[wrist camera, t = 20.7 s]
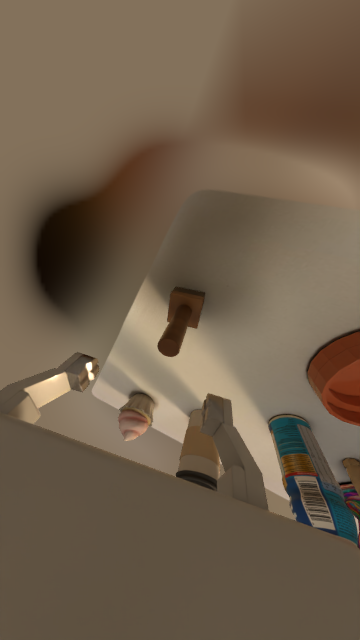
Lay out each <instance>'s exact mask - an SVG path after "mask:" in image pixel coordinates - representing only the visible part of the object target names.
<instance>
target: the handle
mask: <svg viewBox="0 0 360 640" xmlns="http://www.w3.org/2000/svg"><path fill="white" fill-rule="evenodd" d="M343 465H344V467H345V468H347V473H348V475H349V477H350V479H351V481H352V483H353V485H354V487H355V489H356V491H357V493H358V495H359V497H360V462H358V461H356V460H355V459H348V458H347V459H346V460H344V461H343Z"/></svg>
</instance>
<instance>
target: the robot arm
mask: <svg viewBox="0 0 360 640" xmlns="http://www.w3.org/2000/svg"><path fill="white" fill-rule="evenodd" d="M97 363H98V359H97V358H93V357H91V356H88V355H85V354H82V353H78V352H77V353H75V354H74V355H72V356H71V357H70V358H69V359H68V360H66V361H65V362H64V363H63V364H62V365H60V366H59V367H58V368H57V369H56V368H54V369H51V370H48V371H45V372H43V373H40V374H37V375H34V376H32V377H29V378H26V379H23V380H21V381H18V382H15V383H12V384H10V385H8V386H6V387H5V388H3V389H2V390H1V391H0V640H360V549H359V548H358V547H357V546H356V545H354V544H353V543H352V542H350V541H348V540H346V539H344V538H341V537H338V536H336V535H333V534H330V533H328V532H325V531H322V530H319V529H317V528H314V527H311V526H308V525H306V524H303V523H300V522H298V521H295V520H292V519H289V518H287V517H284V516H281V515H279V514H276V513H273V512H270V511H269V510H268V504H267V499H266V493H265V488H264V482H263V477H262V473H261V471H260V469H259V468H258V466H257V464H256V462H255V461H254V459H253V457H252V455H251V454H250V452H249V450H248V448H247V447H246V445H245V443H244V441H243V440H242V438H241V436H240V434H239V433H238V431H237V429H236V427H233V419H232V406H231V401H230V400H229V399H225V398H222V397H220V396H216V395H213V394H209V393H208V394H207V396H206V400H204V402H203V406H202V413H201V414H202V419H201V424H200V432H201V433H204V434H207V435H209V436H212V438H213V440H214V443H215V446H216V449H217V451H218V454H219V457H220V459H221V462H222V465H223V467H224V470H225V473H224V474H223V475H222V476H221V477H220V478H219V479H218V480H217V492H216V491H213V490H211V489H208V488H205V487H202V486H200V485H197V484H194V483H192V482H189V481H186V480H183V479H181V478H178V477H175V476H173V475H170V474H167V473H164V472H161V471H159V470H156V469H153V468H151V467H148V466H145V465H143V464H140V463H137V462H135V461H132V460H129V459H126V458H124V457H121V456H118V455H116V454H113V453H110V452H107V451H104V450H102V449H99V448H96V447H94V446H91V445H88V444H86V443H83V442H80V441H77V440H75V439H72V438H69V437H67V436H64V435H61V434H58V433H56V432H53V431H50V430H47V429H45V428H42V427H39V426H36V425H34V423H35V422H36V421H37V419H38V418H39V417H40V412H39V410H38V408H40V407H41V406H43V405H45V404H46V403H48V402H50V401H52V400H54V399H55V398H57V397H59V396H61V395H62V394H64V393H66V392H68V391H70V390H71V389H73V390H76V391H80V392H83V391H84V390H85V389H86V388H87V387H88V385H89V382H90V380H93V379H94V378H95V377H96V376H97V374H98V372H99V366H98V365H97Z"/></svg>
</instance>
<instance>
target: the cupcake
mask: <svg viewBox="0 0 360 640" xmlns="http://www.w3.org/2000/svg"><path fill="white" fill-rule="evenodd" d="M153 408H154V403H153V400H152V399H151V398H150V397H148V396H147V395H144V394H135V395H134V396H133V397H132V398H131V399H130V400H129V401H128V402H127V404H126V405H124V406H123V407H121V408H120V409H119V410H120V414H119V417H118V421H119V429H120V431H121V433H122V435H123V436H124V441H130V440H133V439H135V438H136V437H137V436H140V435H141V434H143V433H144V432H145V431H146V430H147V427H148V426H152V422H153Z"/></svg>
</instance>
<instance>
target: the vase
mask: <svg viewBox="0 0 360 640" xmlns="http://www.w3.org/2000/svg"><path fill="white" fill-rule="evenodd" d="M340 487H341V489H342V492H343V494H344V502H345V505H346V506H347V507H348V508H349V510H350V511H351V512H352V514H353V515H354V516H355V517H356V518H357V519H358V522H359V535H358V544H357V547H358V548H359V549H360V497H359V495H358V493H357V491H356V489H355V487H354V485H353V484H345V485H340Z"/></svg>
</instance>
